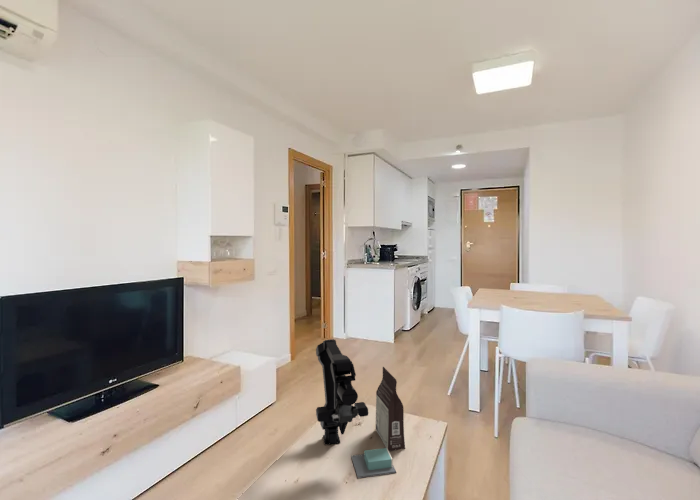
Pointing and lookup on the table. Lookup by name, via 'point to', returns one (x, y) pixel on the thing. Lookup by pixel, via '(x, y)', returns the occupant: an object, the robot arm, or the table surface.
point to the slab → (378, 459)
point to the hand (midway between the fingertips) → (342, 433)
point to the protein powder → (389, 414)
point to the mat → (363, 469)
